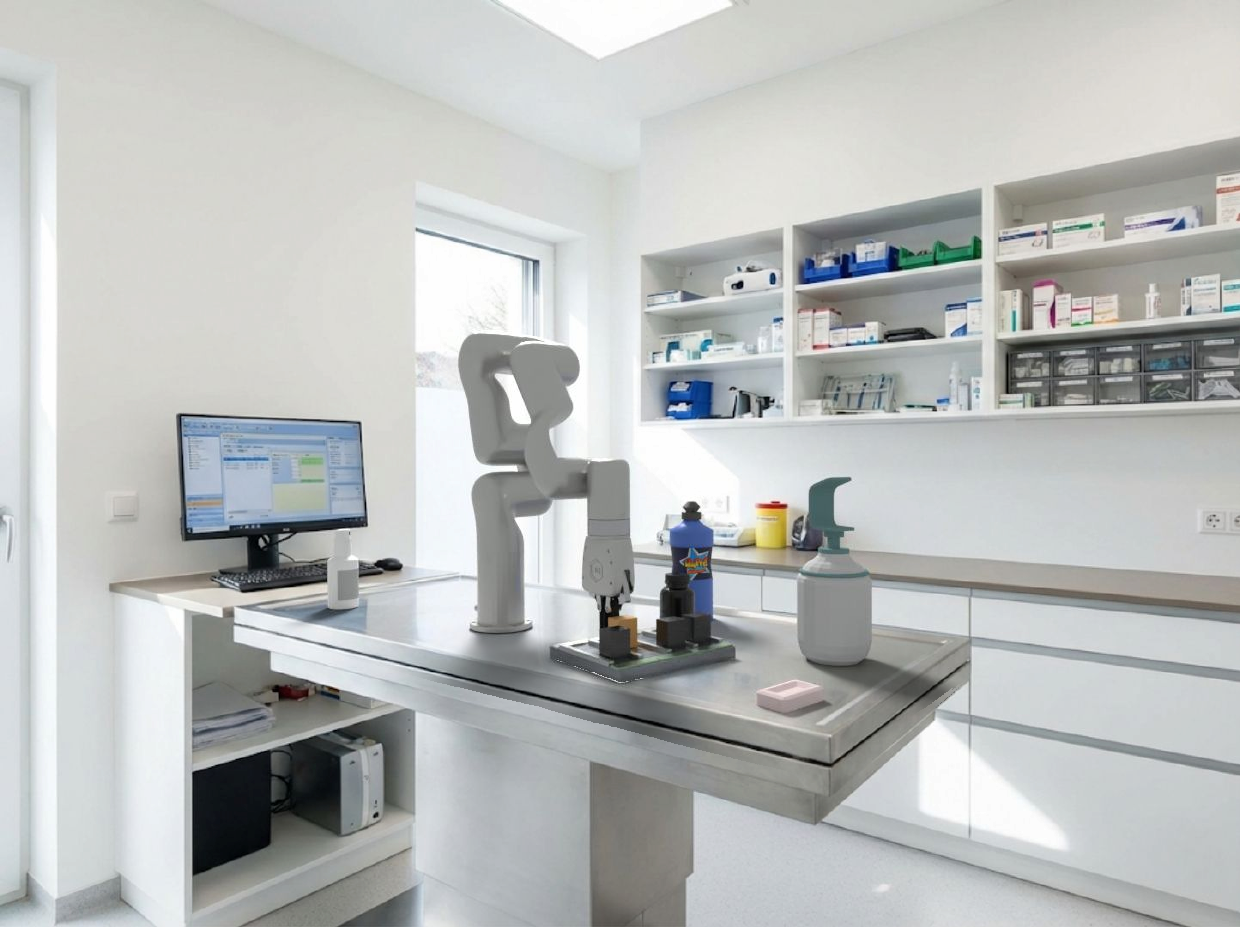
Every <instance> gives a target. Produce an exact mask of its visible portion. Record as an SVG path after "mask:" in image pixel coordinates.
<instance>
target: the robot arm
mask: <svg viewBox="0 0 1240 927" xmlns="http://www.w3.org/2000/svg"><path fill="white" fill-rule="evenodd" d="M458 352H459V353H458V359H457V360H458V363H457V365H458V366H457V367H458V373H459V377H460V378H459V379H460V382H461V384H462V388H463V392H464V394H465V398H466V401H467V409H468V419H469V425H470V427H469V428H470V434H471V441H472V448H473V449H472V450H473V452H474V456H475V458H476V460H477V461H478V462H479V463H480V464H481V465H485V466H490V467H491V466H493V467H495V466H496V467H507V466H508V467H510V466H511V467H513V466H516V469H517V471H513V470H512V471H511V470H508V471H492V472H491V471H490V472H486V473H485V474H482V475H481V476H479V477H478V478H477V479H476V480H475V481H474V483H473V484H472V488H471V495H470V496H471V504H472V509H473V514H474V520H475V527H476V564H477V565H476V567H477V568H476V570H477V571H476V573H477V574H476V576H477V577H476V582H477V583H476V589H477V593H476V594H477V595H476V596H477V597H476V598H477V599H476V600H477V602H476V603H477V604H475V605H474V608H473V609H474V611H475V612H477V614H476V615H477V618H475V619H473V620H470V622H469V628H470V629H471V630H472V631H475V632H479V633H487V634H503V633H504V634H505V633H515V632H522V631H525V630H528V629H530V628H532V626H533V620H532V619H531V618H530V617H527V616H525V615H526V614H525V612H526V610H525V604H526V603H525V539H524V536H523V533H522V530H521V529H520V527H519V525H518V523H517V522H516V520H515V519H516V518H528V517H537V516H542V515H544V514H546V513H547V512H549V510H550V509H551V507H552V506H553V502H554V501H558V500H559V501H561V500H583V499H584V500H586V499H587V500H586V506H587V508H586V510H587V511H586V513H587V514H586V516H587V517H586V518H587V520H586V521H587V526H586V527H587V528H586V529H587V530H586V531H587V535H586V536H585V539H584V545H583V551H582V561H581V562H582V565H581V566H582V567H581V588H582V590H584V592H588V594H589V596H590V597H592V598H593V599H595V602H596V608H597V610H598V611H599V612H598V613H599V615H598V616H599V621H598V622H599V629H600V628H606V627H608V618H610V617H616V616H620V611H622V607H623V605H624V604H630V603H631V601H632V599H631V594H633V593H634V590H635V584H636V583H635V579H636V578H635V576H636V575H635V560H634V548H633V543H632V538H631V483H630V482H631V469H630V464H629V462H628V461H627V460H626V459H622V458H595V457H577V456H576V457H558V455H557V454H556V452H555V449H554V446H553V444H552V441H551V437H550V430H552V428H555V427H557V426H558V425H560V424H562V423H563V422H565V421H566V420H567V419H568V418H569V417H570V416H571V415H572V413H573V410H574V403H573V400H572V398H571V396H570V394H569V391H568V388H567V387H570V386H572V385H573V384H574V383H575V382H577V380H578V378H579V376H580V371H581V370H580V369H581V366H580V360H579V357H578V356H577V354H576V352H575V351H574V349H572V348H571V347H570V346H568V345H566V344H563V343H559V342H558V343H557V342H555V341H551V340H548V339H544V338H542V337H537V336H532V335H526V334H517V333H511V332H504V331H497V330H481V331H476V332H472V333H470V334H469V335H467V336H466V338H465V339H464V340H463V342H462V343H461V346H460V349H459V351H458ZM496 374H498V375H509V376H513V378H514V380H515V383H516V385H517V387H518V391H519V393H520V396H521V398H522V400H523V402H524V406H525V408H526V410H527V413H528V415H529V418H530V421H529V420H515V419H514V418H513V417H512V412H511V407H510V406H511V405H510V400H509V396H508V393H507V392H506V390H505V388H504V386H503V385H502V383H501V382H500V381H499V379H498V378H496Z"/></svg>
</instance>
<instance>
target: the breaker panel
mask: <svg viewBox="0 0 1240 927" xmlns="http://www.w3.org/2000/svg"><path fill="white" fill-rule="evenodd" d="M598 629H599V630H598V632H599V634H598V635H599V636H596V637H592V638H591V637H590V638H585V639H579V640H573V641H568V642H563V643H561V642H560V643H556V644H555V643H554V644H551V646H549V658H550V659H551V660H555V661H557V660H559V661H558V662H560V661H562V662H564V663H563V664H565V663H566V665H568V664H569V665H568V666H570V665H572V667H573V666H576V667H578V668H577V669H579V668H581V669H584V670H587V671H589V672H595V673H597V674H599V675H602V676H604V677H607V678H611V679H613V680H616V681H618V682H626V681H631V680H635V679H640V678H645V679H648V678H652V677H657V676H663V675H665V674H671V673H674V672H675V673H676V672H680V671H685V670H689V669H693V668H694V669H695V668H696V667H697V668H698V667H702V666H706V665H711V664H716V663H719V662H725V661H729V660H733V659H736V657H737V656H736V655H737V654H736V645H735V646H734V644H733V643H731V642H725V641H724V638H723V637H722V638H721V637H718V636H713V635H712V621H711V614H706V613H702V612H695V613H690V614H684V615H682V618H679V617H675V616H672V617H666V618H660V617H659V618H656V619H655V626H654V627H648V628H643V629H637V647H633V648H630V628H627V627H623V626H619V625H618V626H612V627H606V628H600V627H599V628H598ZM562 662H561V663H562ZM576 667H575V668H576ZM581 669H580V670H581ZM584 670H583V671H584ZM587 671H586V672H587ZM589 672H588V673H589ZM640 680H641V679H640ZM631 682H632V681H631Z"/></svg>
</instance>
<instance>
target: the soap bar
mask: <svg viewBox="0 0 1240 927" xmlns="http://www.w3.org/2000/svg"><path fill="white" fill-rule="evenodd" d="M755 694H756V698H755V699H756V700H755V701H756V705H757V706H759V707H762V708H766V709H768V710H772V709H773V711H774V712H775V711H776V712H779V713H783V714H785V713H786V714H788V713H791V712H794V711H796V710H795V709H797V710H799V709H798V708H800V709H803V708H805V707H809V706H812V705H815V704H818V703H821V702H824V688H823V686H821V685H818V684H815V683H811V682H807V681H803V680H799V679H792V680H789V681H786V682H782V683H779V684H775V685H771V686H768V687H765V688H761V689H759V690H756V693H755ZM814 703H815V704H814ZM811 704H812V705H811ZM793 710H794V711H793ZM790 711H791V712H790Z"/></svg>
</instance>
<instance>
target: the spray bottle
mask: <svg viewBox="0 0 1240 927" xmlns="http://www.w3.org/2000/svg"><path fill="white" fill-rule="evenodd" d="M352 542H353V541H352V535H351V529H350V528H340V529H339V528H338V529H335V530H334V538H333V556H331V557H329V558H328V559H327V561H326V562H327V564H326V567H327V569H326V570H327V571H326V572H327V573H326V574H327V575H326V576H327V577H326V578H327V580H326V581H327V587H326V590H327V608H328V609H329V610H335V611H336V610H338V611H340V610H342V611H344V610H351V609H355V608H357V607H359V605H360V598H359V597H360V592H359V590H360V589H359V588H360V587H359V586H360V582H359V578H360V577H359V576H360V575H359V574H360V573H359V569H360V568H359V558H358V557H356V556H355V555H353V547H352V546H353V545H352V544H353V543H352Z"/></svg>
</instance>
